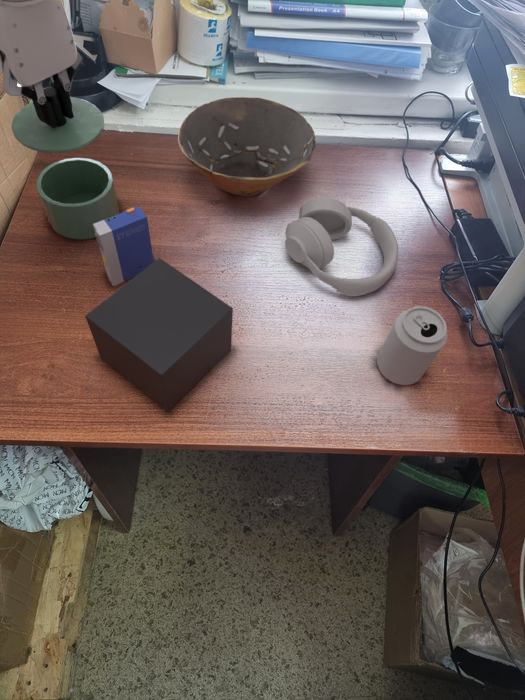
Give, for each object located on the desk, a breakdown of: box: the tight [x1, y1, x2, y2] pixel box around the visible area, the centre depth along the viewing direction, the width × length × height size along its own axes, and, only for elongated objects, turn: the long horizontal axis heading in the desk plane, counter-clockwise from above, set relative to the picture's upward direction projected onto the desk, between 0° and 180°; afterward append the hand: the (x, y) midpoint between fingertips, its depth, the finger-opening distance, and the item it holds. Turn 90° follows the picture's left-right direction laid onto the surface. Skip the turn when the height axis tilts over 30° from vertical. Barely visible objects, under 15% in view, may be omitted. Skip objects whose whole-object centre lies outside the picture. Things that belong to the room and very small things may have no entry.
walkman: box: [93, 206, 155, 287], centre depth 81 cm, size 8×3×12 cm, turn 125°
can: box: [376, 305, 448, 386], centre depth 75 cm, size 8×8×12 cm
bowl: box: [177, 96, 317, 197], centre depth 97 cm, size 25×25×10 cm
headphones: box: [284, 196, 399, 297], centre depth 89 cm, size 18×8×20 cm
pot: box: [36, 157, 120, 240], centre depth 89 cm, size 12×12×8 cm
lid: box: [11, 86, 105, 154], centre depth 75 cm, size 13×13×5 cm
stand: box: [84, 257, 234, 413], centre depth 73 cm, size 14×14×11 cm
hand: (57, 118), depth 76 cm, fingers closed on lid, 2 cm apart
